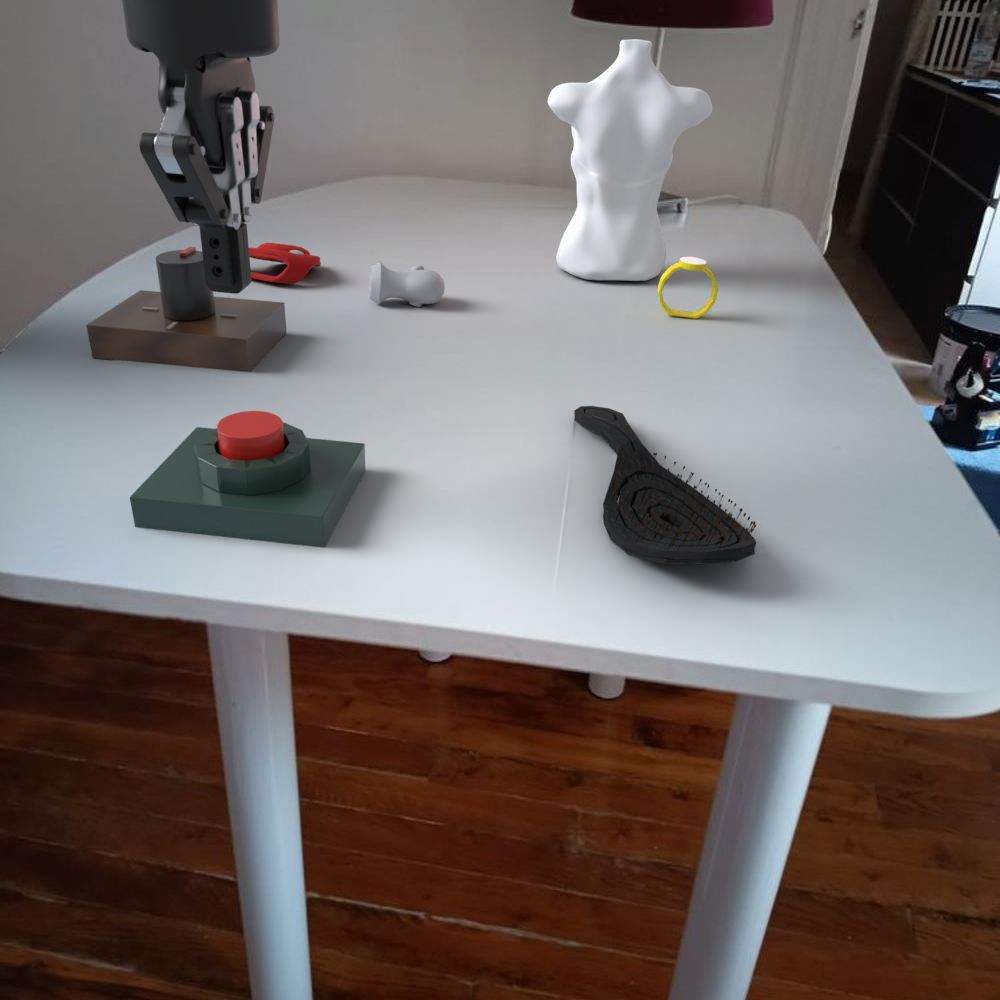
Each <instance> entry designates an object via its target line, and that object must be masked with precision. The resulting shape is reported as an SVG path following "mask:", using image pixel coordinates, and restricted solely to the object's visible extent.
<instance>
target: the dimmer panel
mask: <svg viewBox="0 0 1000 1000" xmlns="http://www.w3.org/2000/svg"><path fill="white" fill-rule="evenodd" d="M214 303H215V313H214V314H213V315H212V316H210V317H207V318H204V319H199V320H191V321H181V320H173V319H170V318H167V317H166V316H165V315H164V313H163V306H162V299H161V292H160V291H156V290H155V291H153V290H140V289H139V290H138V291H137V292H135V293H134V294H132V295H131V296H129V297H128V298H125V300H123V301H121V302H119V303H118V304H117V305H115V306H114V307H112V308H110V309H108V310H107V311H105V313H103V314H101V315H99V316H98V317H97V318H95V319H94V320H92V321H90V322H89V323H87V324H86V332H87V337H88V342H89V347H90V353H91V358H92V359H99V360H100V359H101V360H108V361H109V360H110V361H123V362H124V361H126V362H136V363H144V364H145V363H146V364H156V365H157V364H158V365H166V366H176V367H178V366H179V367H188V368H189V367H190V368H201V369H210V370H219V371H220V370H221V371H234V372H244V373H250V372H251V371H252V370H253V369H254V368H255V367H256V366H257V365H258V364H259V363H260V361H261V360H263V358H265V356H266V355H267V354H268V353H269V352H271V350H272V349H273V348H274V347H275V346H276V345H277V344H278V343H279V342H280V341H281V340H282V339H283V337H284V336H285V335H287V321H286V306H285V302H282V301H270V300H259V299H246V298H236V297H223V296H214Z"/></svg>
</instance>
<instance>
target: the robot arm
mask: <svg viewBox="0 0 1000 1000" xmlns="http://www.w3.org/2000/svg"><path fill="white" fill-rule="evenodd" d="M121 3H122V11H123V18H124V26H125V32H126V38H127V40H128V42H129V44H130V45H131V46H132V47H134V48H135V49H136V50H139V51H141V52H144V53H152V54H153V55H154V56H156V58H157V59H158V63H159V65H158V84H157V85H158V87H157V99H158V104H159V108H160V112H161V119H162V122H161V124H160V128H159V130H158V132H145V131H144V132H142V133H141V134H140V137H139V142H138V143H139V151H140V154H141V156H142V157H143V159H144V161H145V164H146V165H147V167H148V168H149V170H150V172H151V174H152V176H153V178H154V180H155V182H156V183H157V185H158V187H159V189H160V191H161V192H162V195H163V196H164V198H165V199H166V202H167V203H168V205H169V207H170V209H171V211H172V213H173V214H174V216H175V217H176V219H177V221H178V222H179V223H187V224H188V223H192V225H193V226H195V227H199V233H200V235H199V236H200V243H201V252H202V254H203V263H204V272H205V281H206V285H207V287H208V288H209V289H210V290H211V291H213V293H223V294H224V293H225V294H233V295H237V294H240V293H241V292H242V291H244V290H245V289H246V288H247V287H249V286H250V285H251V283H252V278H251V272H252V270H251V259H250V258H251V257H249V248H250V247H249V237H248V225H247V223H249V222H250V221H251V220H252V216H253V208H252V207H253V206H252V204H258V205H260V203H261V201H262V196H263V190H264V185H265V184H264V183H265V178H266V172H267V167H268V159H269V154H270V148H271V141H272V137H273V136H272V135H273V128H274V123H275V113H274V109H273V107H272V106H271V105H260V98H259V95H258V92H257V91H256V81H255V76H254V73H253V68H252V62H251V58H260V57H267V56H270V55H272V54H275V53H276V52H277V51H278V49H279V47H280V42H281V41H280V27H279V25H280V23H279V9H278V0H121Z"/></svg>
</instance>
